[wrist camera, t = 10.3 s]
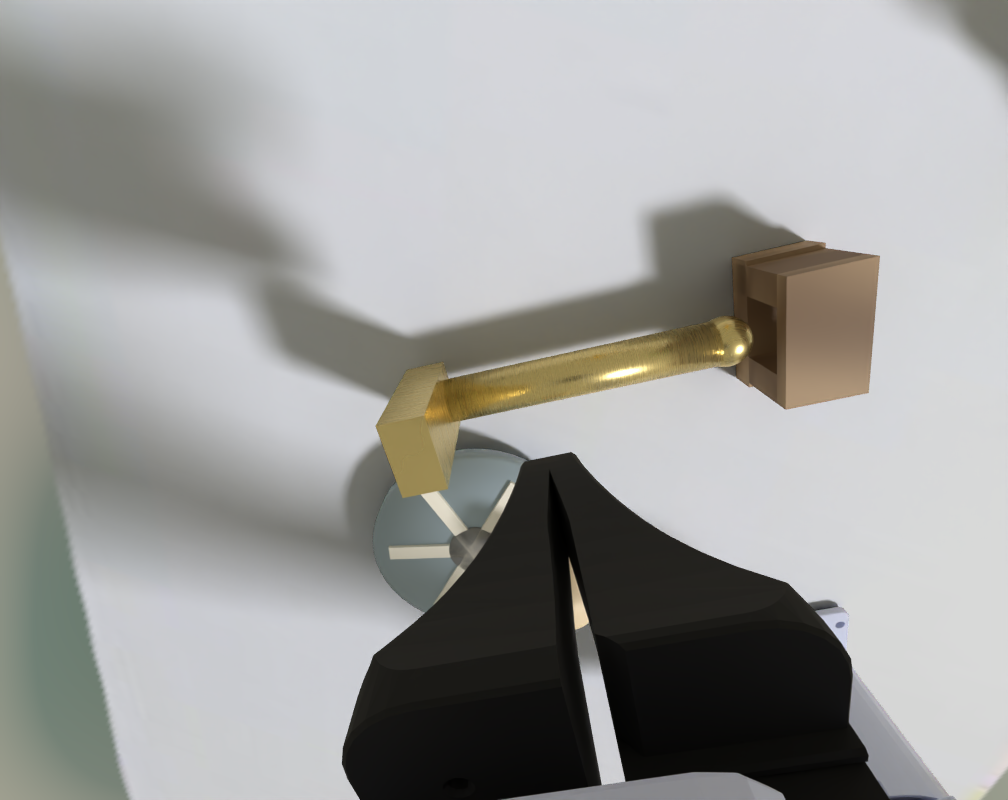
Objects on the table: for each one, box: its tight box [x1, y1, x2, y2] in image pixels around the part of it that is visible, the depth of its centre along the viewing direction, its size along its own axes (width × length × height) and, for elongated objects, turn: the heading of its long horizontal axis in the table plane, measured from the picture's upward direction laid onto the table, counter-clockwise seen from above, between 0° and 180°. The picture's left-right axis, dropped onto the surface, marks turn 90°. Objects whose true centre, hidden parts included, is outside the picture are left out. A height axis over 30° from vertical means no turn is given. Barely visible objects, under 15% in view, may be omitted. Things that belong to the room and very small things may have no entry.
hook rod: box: [376, 316, 754, 498], centre depth 17 cm, size 3×14×5 cm, turn 103°
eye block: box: [732, 241, 880, 409], centre depth 18 cm, size 5×3×4 cm, turn 13°
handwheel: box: [373, 449, 589, 630], centre depth 21 cm, size 10×10×5 cm
